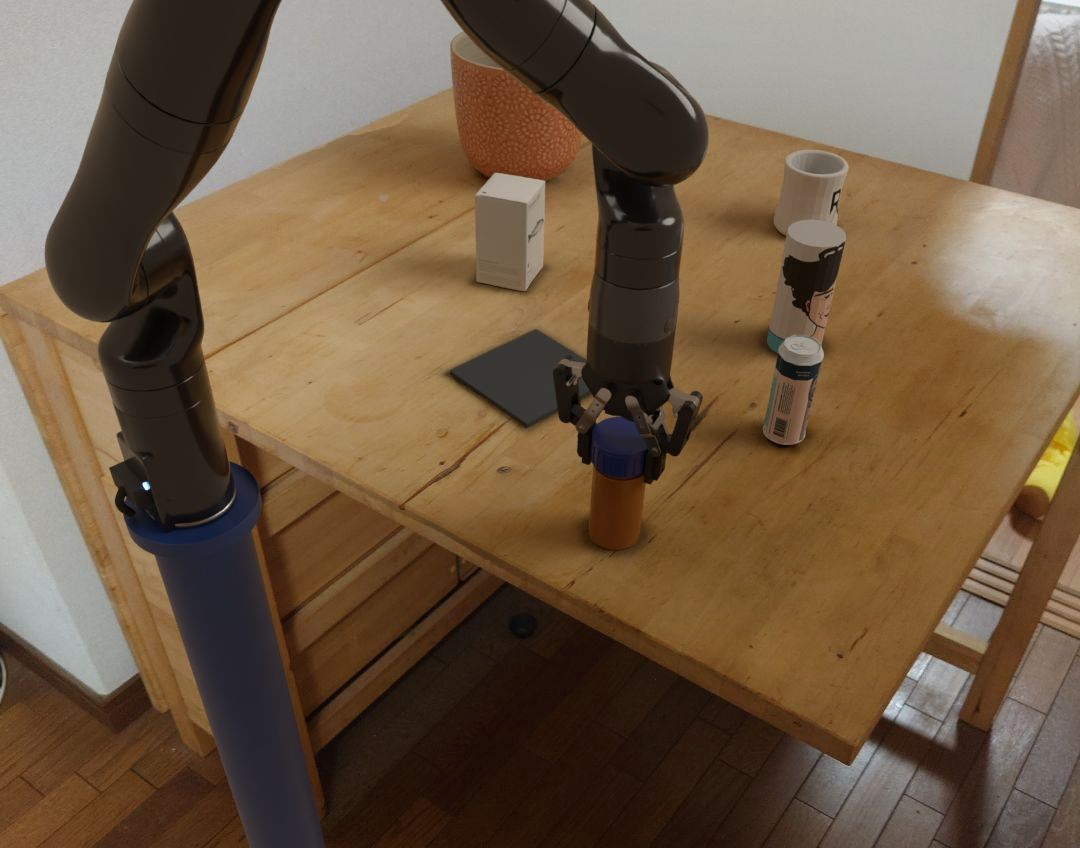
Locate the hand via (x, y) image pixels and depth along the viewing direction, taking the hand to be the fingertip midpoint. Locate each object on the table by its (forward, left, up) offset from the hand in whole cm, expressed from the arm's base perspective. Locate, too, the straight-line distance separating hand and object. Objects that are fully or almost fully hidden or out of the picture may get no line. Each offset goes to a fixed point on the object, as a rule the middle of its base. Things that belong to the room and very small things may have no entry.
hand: (619, 468), depth 102 cm
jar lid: (0, 0, +4) cm, 4 cm away
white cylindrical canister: (+42, +10, -9) cm, 44 cm away
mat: (+12, +26, -9) cm, 30 cm away
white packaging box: (+26, +46, -9) cm, 53 cm away
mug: (+69, +29, -9) cm, 75 cm away
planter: (+49, +70, -9) cm, 86 cm away
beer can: (+26, -1, -9) cm, 27 cm away
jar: (0, 0, -9) cm, 9 cm away
